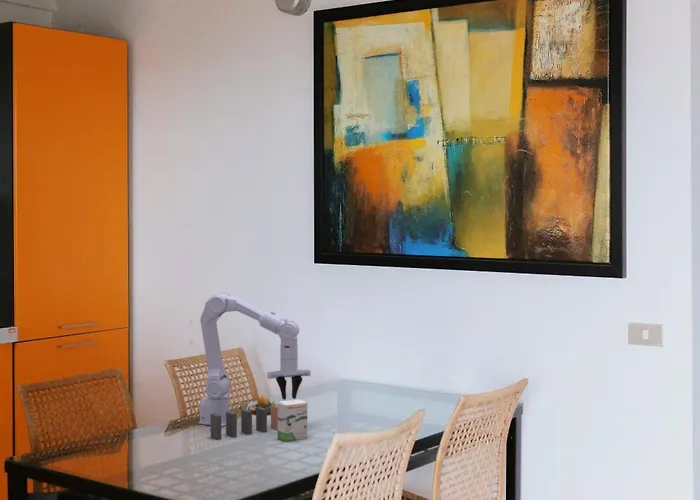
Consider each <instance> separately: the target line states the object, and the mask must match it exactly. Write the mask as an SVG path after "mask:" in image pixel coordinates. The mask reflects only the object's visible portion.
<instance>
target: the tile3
mask: <svg viewBox="0 0 700 500" xmlns="http://www.w3.org/2000/svg"><path fill="white" fill-rule="evenodd" d="M240 410H241V411H240V417H241V420H240V423H241V424H240V425H241V426H240V427H241V428H240V432H241V433H242V434H245V435H247V436H250V435H253V415H252V411H250V410H248V408H244V409H240Z"/></svg>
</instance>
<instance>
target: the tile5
mask: <svg viewBox="0 0 700 500" xmlns="http://www.w3.org/2000/svg"><path fill="white" fill-rule="evenodd" d="M210 438H212V439H214V438H215V439H214V440H216V441H218V439H219V440H222V426H221V415H218V414H216V413H212V414H211V425H210Z"/></svg>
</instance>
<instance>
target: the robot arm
mask: <svg viewBox="0 0 700 500" xmlns="http://www.w3.org/2000/svg"><path fill="white" fill-rule="evenodd" d="M226 312H227V313H229V312H237V313H241V314H243V315H245V316H247V317H250V318H251V319H253V320H256V321H258V323H259V325H260V327H261V328H264V329H265V330H267V331H269V332H271V333H274V334H275V335H278V337H279V338H280V346H279V348H280V357H279V358H280V360H279V361H280V362H279V363H280V368H279V369H280V370H276V371H268V372H266V375H267V379H268V380H273V379H275V381H276V382H277V385H278V388H279V389H280V393H281V399H282V400H283V401H287V381H288V380H286V378H291V398H292V400H297V395H298V391H299V388H300V385H301V384H302V382H303V377H311V370H310V369H299V367H298V352H299V351H298V350H299V349H298V348H299V347H298V335H299V333H300V328H299V325H298V324H297V323H296V322H295V321H294V320H289V319H288V318H286V317H281V316H279V315H277V314H276V311H274V310H271V311H269V310H266V311H262V310H260V309H259V308H256V307H254V306H253V305H251V304H249V303H248V302H246V301H244V300H243V299H241V298H240V297H237V296H236V295H232V294H230V293H228V292H221V293H218V294H214V295H211V296H210V297H209V299H207V301H206V302H205V303H204V308H203V311H202V314H201V315H200V321H199V322H200V327H201V333H202V339H203V345H204V351H205V352H204V353H205V359H206V366H207V375H206V385H205V393H206V396H203V397H202V398H201V401H200V404H199V422H198V424H200V425H208V426H211V414H212V413H216V414H218V415H221V427H224V426H225V427H226V412H227V411H230V395H229V391H230V389H231V388H232V387H231V386H232V382H231V380H230V378H229V377H228V374H227V371H226V369H225V368H224V363H223V357H222V356H223V355H222V348H221V343H220V338H219V336H220V335H219V331H218V324H217V322H218V320H219V319H220V318H221V317H222V315H223V314H225V313H226Z"/></svg>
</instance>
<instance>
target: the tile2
mask: <svg viewBox="0 0 700 500" xmlns="http://www.w3.org/2000/svg"><path fill="white" fill-rule="evenodd" d="M255 430H256V431H258V432H260V433H263V434H264V433H268V415H267V409H265V408H262V407H256V415H255Z"/></svg>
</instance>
